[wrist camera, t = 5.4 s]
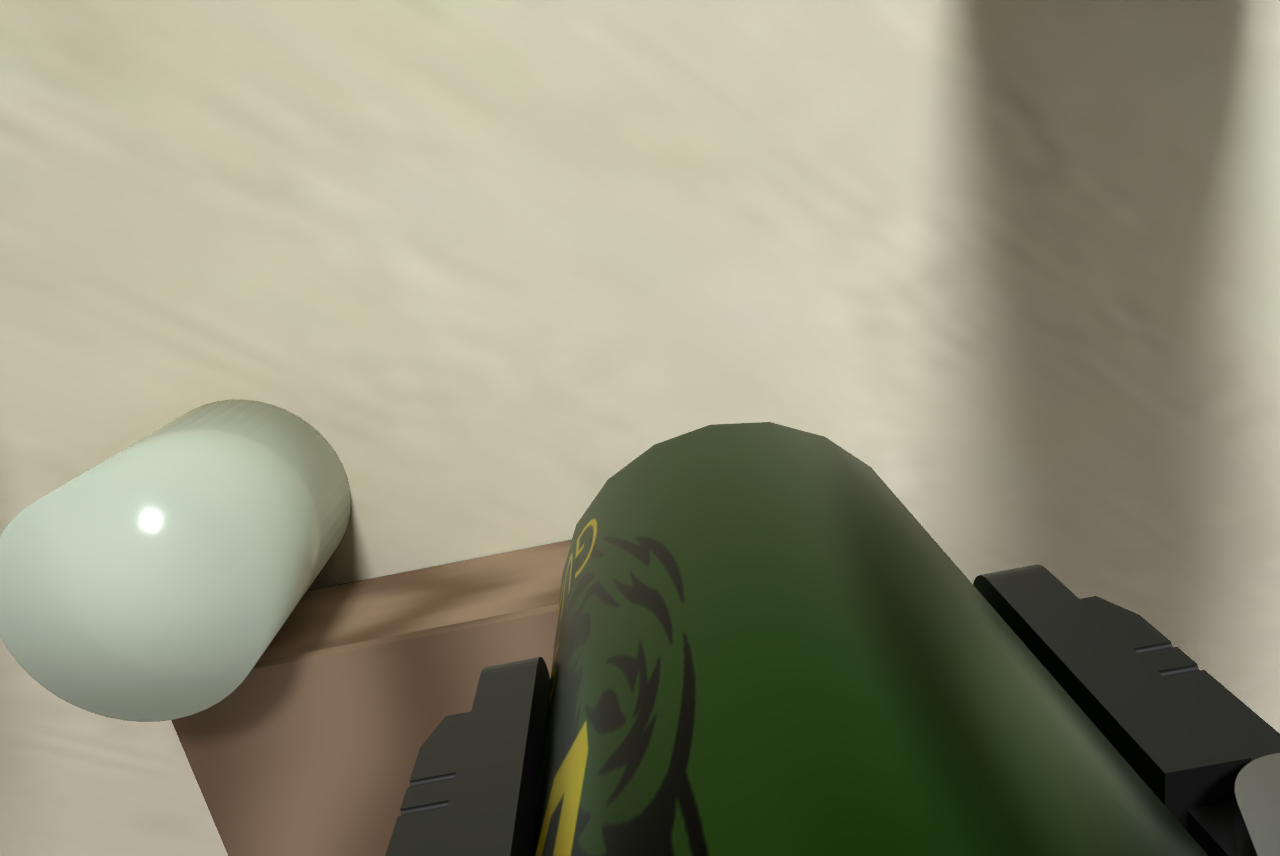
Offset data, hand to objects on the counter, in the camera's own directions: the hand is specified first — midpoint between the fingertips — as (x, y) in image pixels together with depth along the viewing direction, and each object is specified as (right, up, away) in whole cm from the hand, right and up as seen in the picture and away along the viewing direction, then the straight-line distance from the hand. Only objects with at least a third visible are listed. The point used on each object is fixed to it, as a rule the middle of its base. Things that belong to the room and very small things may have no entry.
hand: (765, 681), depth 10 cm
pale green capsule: (-15, +1, +19) cm, 25 cm away
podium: (-9, -8, +22) cm, 25 cm away
